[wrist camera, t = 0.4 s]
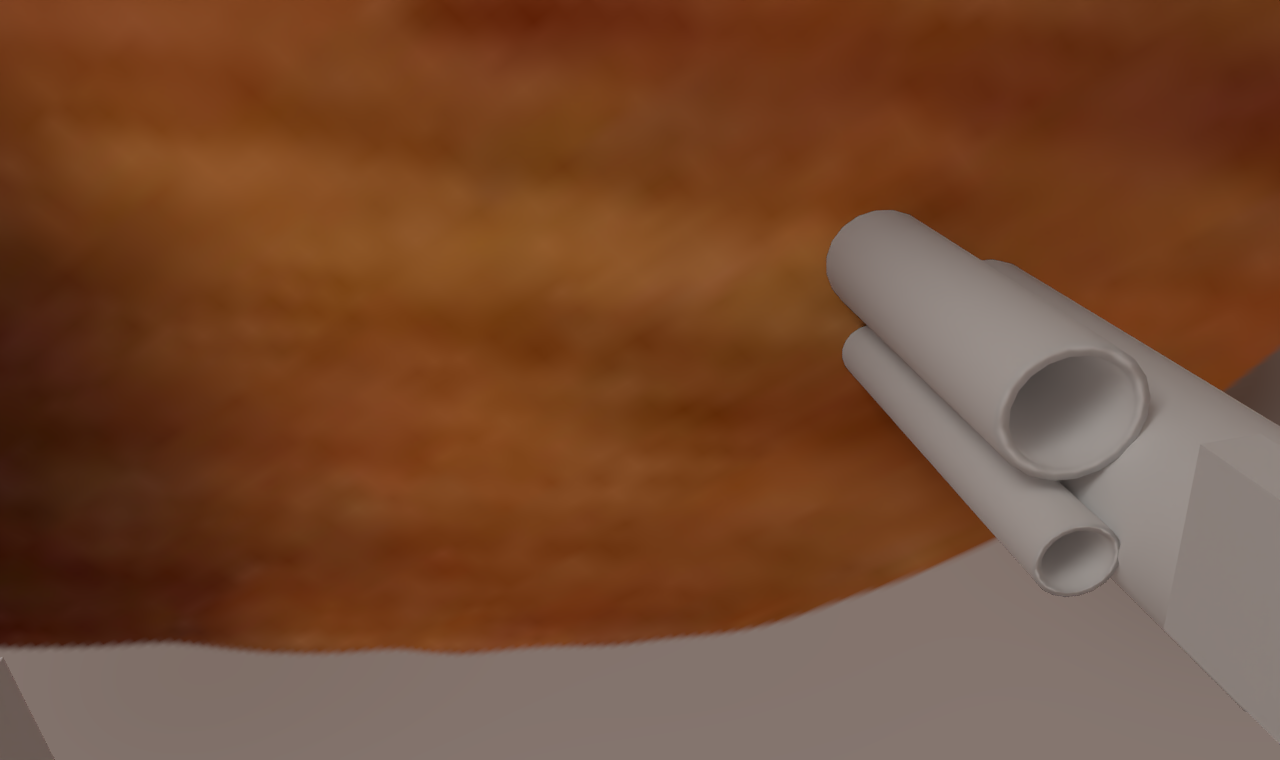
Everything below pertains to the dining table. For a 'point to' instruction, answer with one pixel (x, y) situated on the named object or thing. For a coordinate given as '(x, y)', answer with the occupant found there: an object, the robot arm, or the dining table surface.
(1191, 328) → the dining table surface
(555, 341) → the dining table surface
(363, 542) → the dining table surface
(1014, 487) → the vase
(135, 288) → the dining table surface
